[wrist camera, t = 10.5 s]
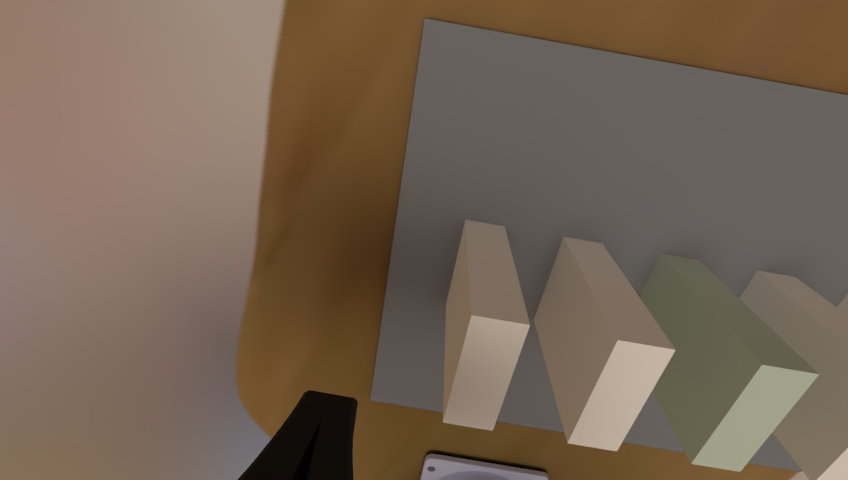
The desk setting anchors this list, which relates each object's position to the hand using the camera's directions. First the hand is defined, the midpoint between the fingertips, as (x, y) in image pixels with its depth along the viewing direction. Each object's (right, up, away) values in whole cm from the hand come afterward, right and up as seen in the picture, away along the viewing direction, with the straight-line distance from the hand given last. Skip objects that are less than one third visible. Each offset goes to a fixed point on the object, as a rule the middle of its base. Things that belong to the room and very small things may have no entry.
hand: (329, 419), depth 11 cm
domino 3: (+18, +1, +9) cm, 20 cm away
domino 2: (+9, +3, +9) cm, 13 cm away
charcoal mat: (+14, +2, +9) cm, 17 cm away
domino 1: (+5, +4, +9) cm, 10 cm away
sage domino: (+14, +2, +9) cm, 16 cm away
